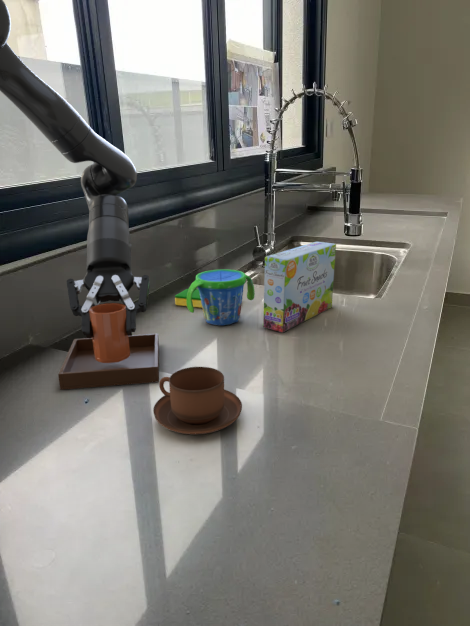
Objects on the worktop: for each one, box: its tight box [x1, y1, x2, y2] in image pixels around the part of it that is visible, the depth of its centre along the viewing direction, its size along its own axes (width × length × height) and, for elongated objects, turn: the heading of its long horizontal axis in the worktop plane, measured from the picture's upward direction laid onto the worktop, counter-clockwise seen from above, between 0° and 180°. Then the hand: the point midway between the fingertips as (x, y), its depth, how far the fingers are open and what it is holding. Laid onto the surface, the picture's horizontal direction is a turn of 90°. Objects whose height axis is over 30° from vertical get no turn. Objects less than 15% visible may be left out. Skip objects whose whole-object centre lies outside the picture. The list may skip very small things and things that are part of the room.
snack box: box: [262, 241, 337, 333], centre depth 106 cm, size 21×6×15 cm, turn 143°
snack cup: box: [186, 268, 256, 326], centre depth 105 cm, size 16×10×10 cm
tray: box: [57, 332, 160, 391], centre depth 85 cm, size 15×15×3 cm
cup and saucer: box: [152, 366, 243, 435], centre depth 67 cm, size 12×12×6 cm
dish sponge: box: [174, 287, 203, 309], centre depth 118 cm, size 7×14×2 cm, turn 69°
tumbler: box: [89, 302, 130, 363], centre depth 82 cm, size 6×6×8 cm
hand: (109, 334), depth 81 cm, fingers closed on tumbler, 6 cm apart
